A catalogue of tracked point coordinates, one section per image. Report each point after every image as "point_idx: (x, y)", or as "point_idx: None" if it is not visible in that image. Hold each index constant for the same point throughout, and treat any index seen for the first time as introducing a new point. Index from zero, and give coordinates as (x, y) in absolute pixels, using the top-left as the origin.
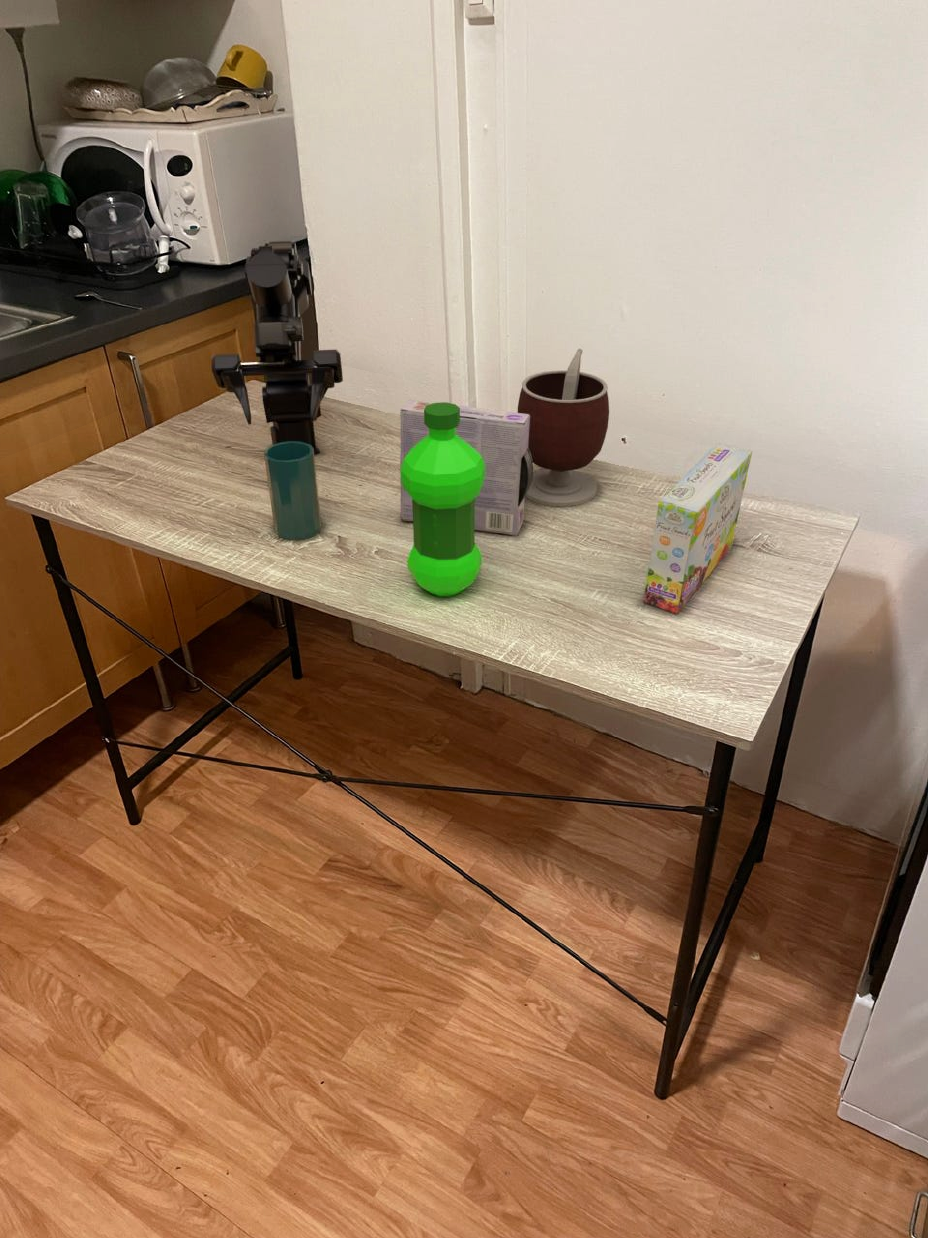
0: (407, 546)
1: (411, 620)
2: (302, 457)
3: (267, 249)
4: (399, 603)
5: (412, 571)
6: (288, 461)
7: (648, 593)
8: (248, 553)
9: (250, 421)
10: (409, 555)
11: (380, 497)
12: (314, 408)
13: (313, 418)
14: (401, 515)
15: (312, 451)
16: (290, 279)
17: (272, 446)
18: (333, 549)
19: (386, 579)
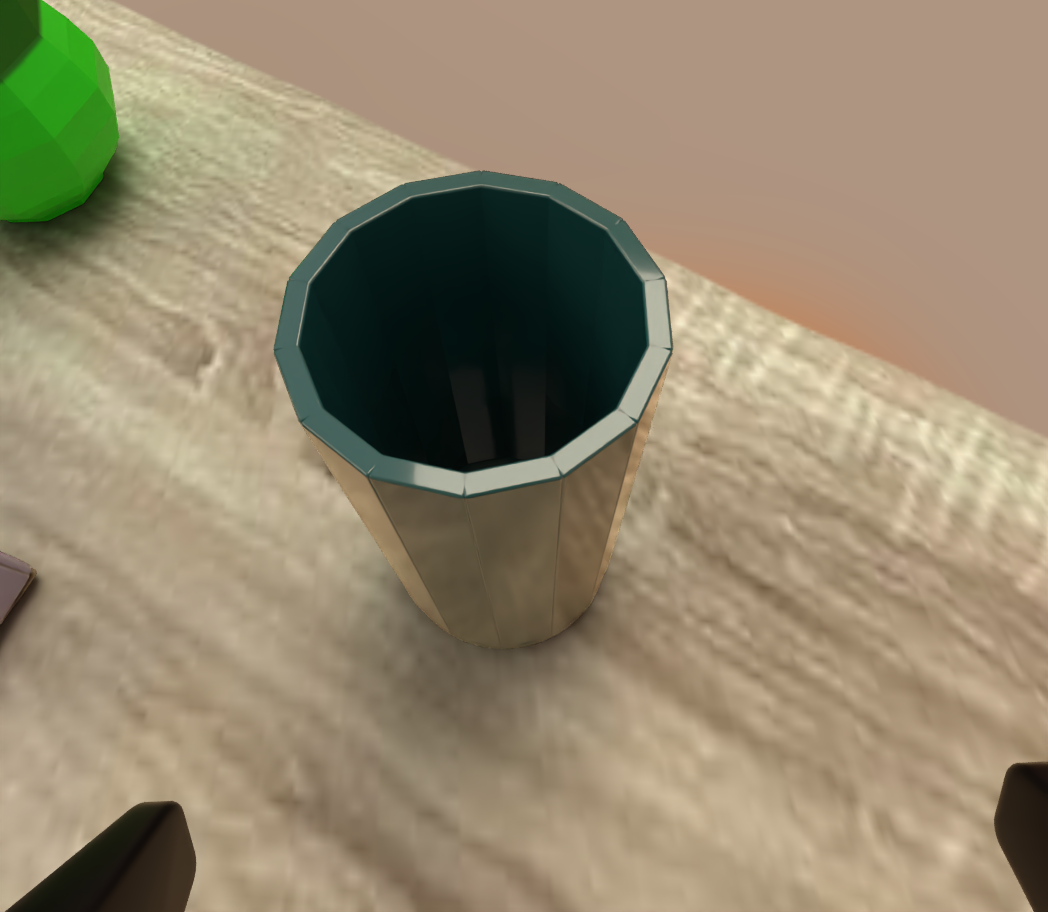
0: (83, 388)
1: (186, 67)
2: (367, 216)
3: None
4: (198, 122)
5: (105, 76)
6: (467, 173)
7: None
8: (681, 377)
9: (1015, 809)
10: (80, 66)
11: None
12: (20, 905)
13: (142, 807)
14: (20, 562)
15: (286, 295)
16: None
17: (622, 400)
18: None
19: (208, 216)
